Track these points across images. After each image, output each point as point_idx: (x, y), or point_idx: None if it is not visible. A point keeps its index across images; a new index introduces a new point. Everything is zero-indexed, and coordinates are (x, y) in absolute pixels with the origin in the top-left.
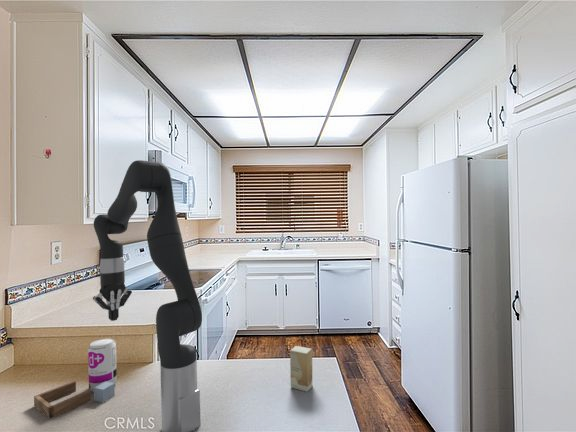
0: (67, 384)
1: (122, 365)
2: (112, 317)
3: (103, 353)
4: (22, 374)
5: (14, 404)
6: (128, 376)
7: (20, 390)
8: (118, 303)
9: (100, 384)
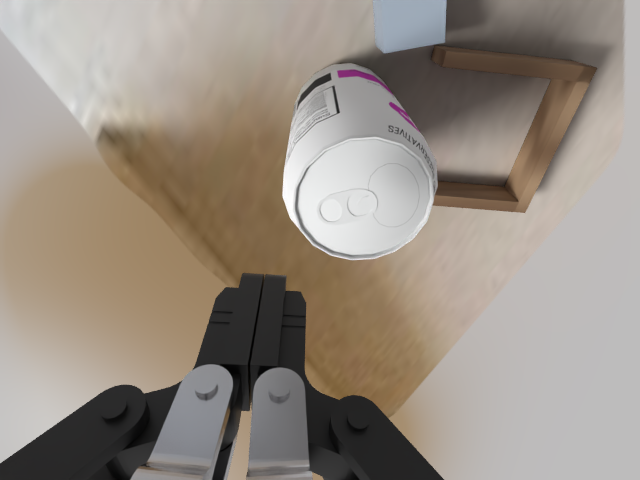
0: (434, 197)
1: (206, 213)
2: (284, 304)
3: (397, 114)
4: (389, 378)
5: (511, 253)
6: (239, 100)
7: (449, 310)
8: (174, 445)
9: (413, 42)
